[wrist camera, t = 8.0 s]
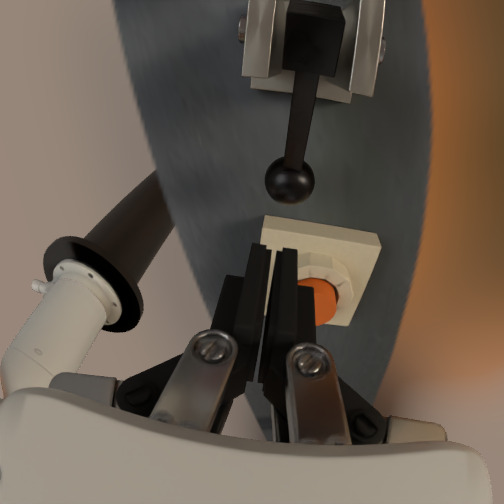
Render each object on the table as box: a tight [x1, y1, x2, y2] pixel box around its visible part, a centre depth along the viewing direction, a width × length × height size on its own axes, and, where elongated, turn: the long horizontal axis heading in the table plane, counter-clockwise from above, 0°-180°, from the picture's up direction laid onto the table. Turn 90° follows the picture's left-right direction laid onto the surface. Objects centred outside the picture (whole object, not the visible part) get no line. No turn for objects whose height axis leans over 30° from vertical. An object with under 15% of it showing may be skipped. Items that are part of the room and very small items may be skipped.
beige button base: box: [260, 215, 381, 326], centre depth 26 cm, size 10×10×4 cm
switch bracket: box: [238, 0, 386, 104], centre depth 13 cm, size 7×7×11 cm
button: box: [298, 278, 336, 326], centre depth 24 cm, size 4×4×2 cm
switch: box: [265, 0, 346, 206], centre depth 14 cm, size 13×3×3 cm, turn 177°
